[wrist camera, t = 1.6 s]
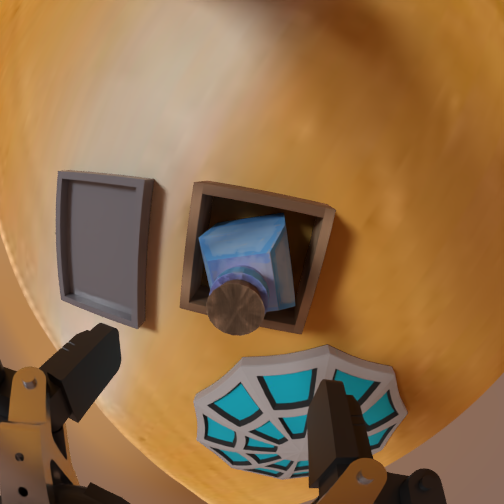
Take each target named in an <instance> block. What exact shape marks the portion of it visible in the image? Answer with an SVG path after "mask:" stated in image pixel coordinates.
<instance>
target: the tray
mask: <svg viewBox="0 0 504 504" xmlns="http://www.w3.org/2000/svg"><path fill="white" fill-rule="evenodd" d="M153 183H154V179H150V178H142V177H134V176H125V175H116V174H107V173H96V172H85V171H73V170H66V171H58V179H57V194H56V249H57V265H58V277H59V286H60V294H61V300H63V301H65V302H68V303H70V304H72V305H75V306H77V307H79V308H82V309H84V310H87V311H89V312H92V313H94V314H97V315H100V316H102V317H105V318H108V319H110V320H113V321H116V322H119V323H121V324H124V325H127V326H130V327H133V328H136V329H138V328H139V327H140V326H141V325H142V324H143V323H144V321H145V289H146V261H147V244H148V231H149V219H150V209H151V200H152V191H153Z"/></svg>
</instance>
